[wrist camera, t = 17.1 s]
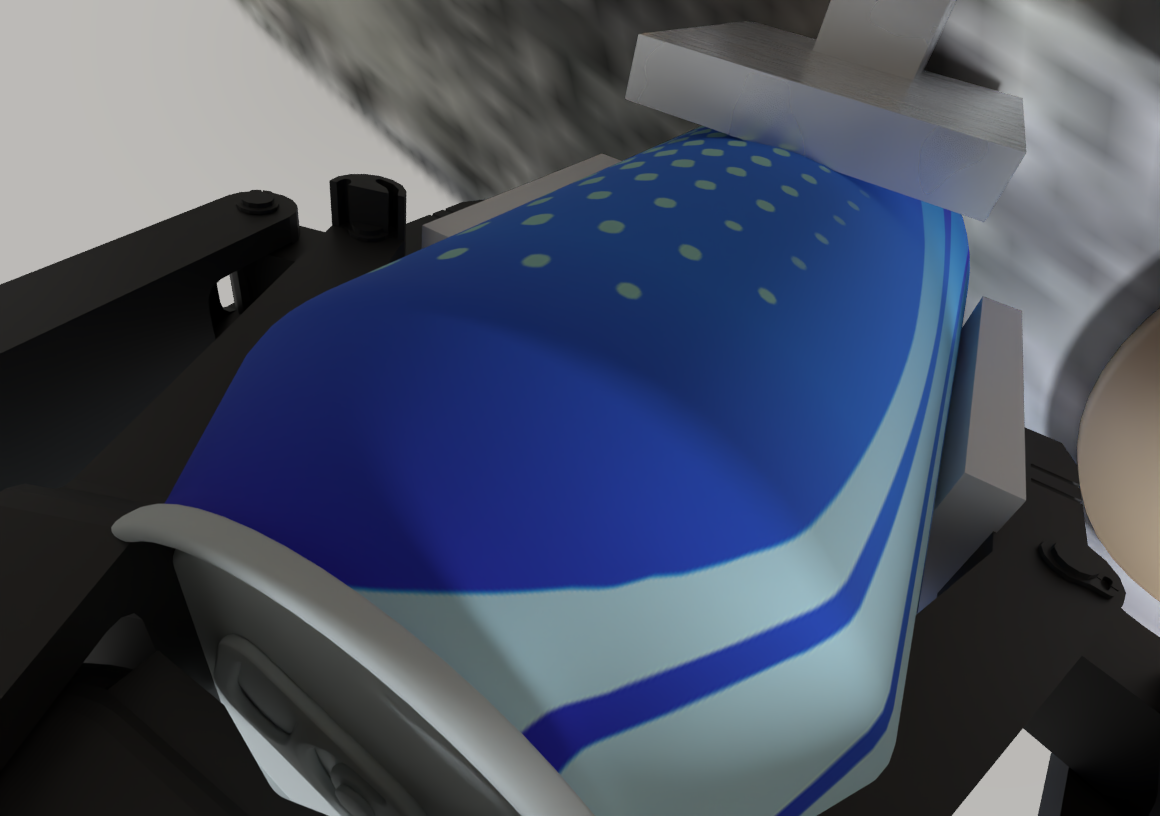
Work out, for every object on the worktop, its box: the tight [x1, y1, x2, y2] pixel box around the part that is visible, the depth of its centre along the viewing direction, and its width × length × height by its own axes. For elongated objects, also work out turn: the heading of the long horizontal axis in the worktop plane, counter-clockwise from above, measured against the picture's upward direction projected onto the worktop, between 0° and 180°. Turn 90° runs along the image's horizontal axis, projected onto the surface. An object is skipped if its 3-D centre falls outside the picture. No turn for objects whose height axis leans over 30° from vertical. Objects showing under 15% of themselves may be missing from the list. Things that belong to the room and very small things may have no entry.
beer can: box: [111, 126, 970, 816], centre depth 12 cm, size 8×8×16 cm
